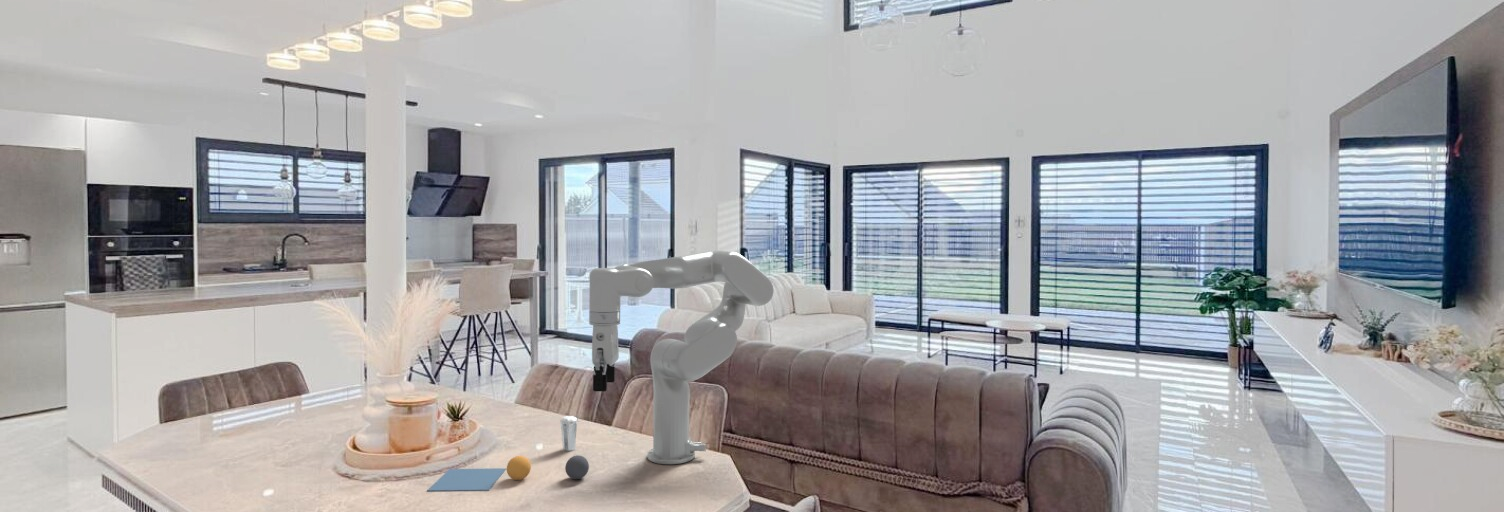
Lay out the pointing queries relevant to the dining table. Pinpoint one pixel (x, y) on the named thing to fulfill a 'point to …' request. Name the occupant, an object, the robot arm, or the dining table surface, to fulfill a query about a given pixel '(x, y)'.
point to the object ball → (518, 467)
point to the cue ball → (577, 467)
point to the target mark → (467, 480)
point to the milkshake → (569, 432)
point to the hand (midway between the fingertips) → (604, 386)
